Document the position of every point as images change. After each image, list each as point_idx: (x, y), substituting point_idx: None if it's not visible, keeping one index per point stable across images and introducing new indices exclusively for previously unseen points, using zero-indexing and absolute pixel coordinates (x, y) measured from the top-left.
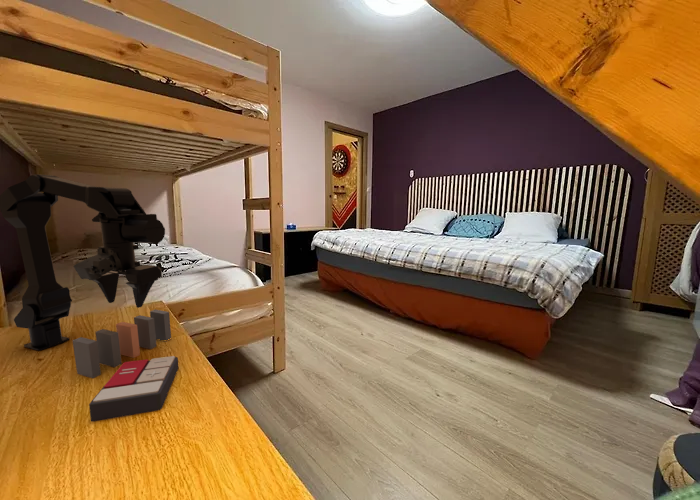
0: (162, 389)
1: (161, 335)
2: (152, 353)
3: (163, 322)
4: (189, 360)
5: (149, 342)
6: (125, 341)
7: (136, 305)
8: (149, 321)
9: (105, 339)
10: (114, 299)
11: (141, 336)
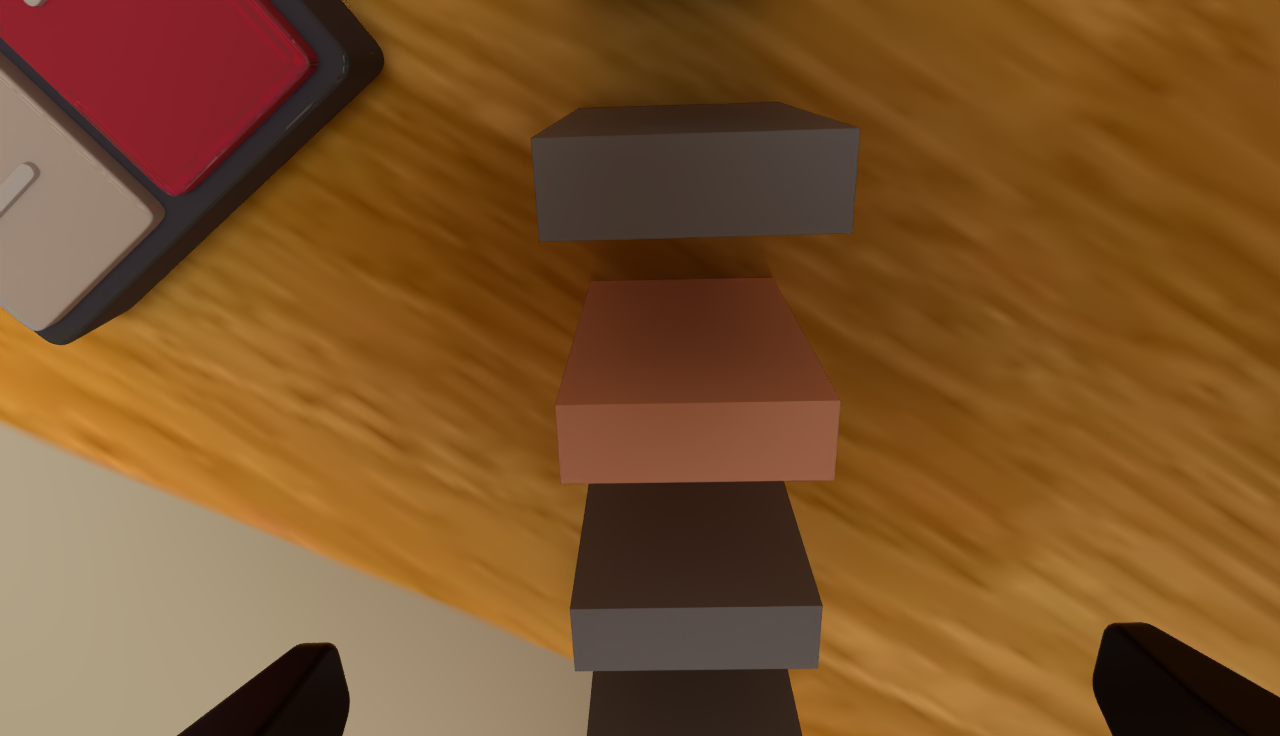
0: None
1: None
2: (516, 385)
3: (607, 684)
4: (146, 412)
5: None
6: (676, 326)
7: (294, 669)
8: (572, 606)
9: (657, 128)
10: (1112, 733)
11: None
